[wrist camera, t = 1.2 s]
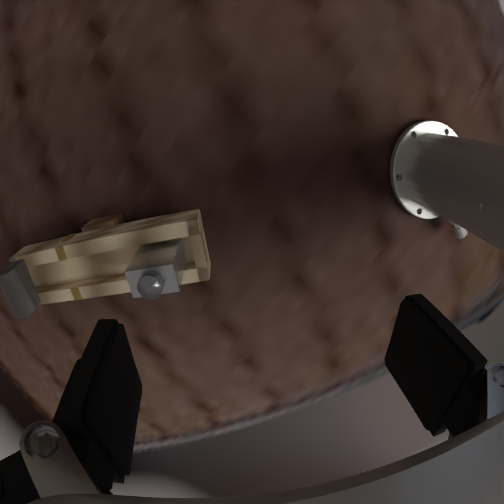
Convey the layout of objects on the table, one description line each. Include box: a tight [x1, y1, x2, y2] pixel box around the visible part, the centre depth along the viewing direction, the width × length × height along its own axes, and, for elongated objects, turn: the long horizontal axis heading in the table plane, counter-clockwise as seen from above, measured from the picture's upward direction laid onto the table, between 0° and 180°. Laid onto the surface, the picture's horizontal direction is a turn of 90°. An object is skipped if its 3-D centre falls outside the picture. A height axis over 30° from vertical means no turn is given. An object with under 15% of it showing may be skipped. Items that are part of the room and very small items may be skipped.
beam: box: [0, 209, 211, 320], centre depth 29 cm, size 22×7×10 cm, turn 98°
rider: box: [125, 238, 186, 300], centre depth 26 cm, size 4×2×7 cm, turn 98°
